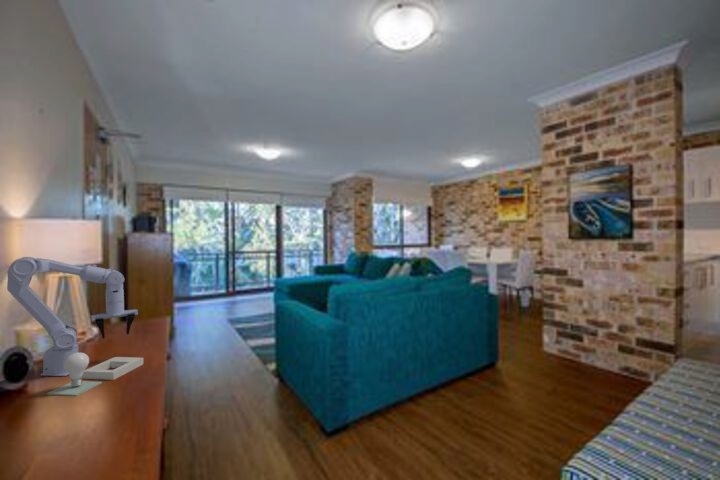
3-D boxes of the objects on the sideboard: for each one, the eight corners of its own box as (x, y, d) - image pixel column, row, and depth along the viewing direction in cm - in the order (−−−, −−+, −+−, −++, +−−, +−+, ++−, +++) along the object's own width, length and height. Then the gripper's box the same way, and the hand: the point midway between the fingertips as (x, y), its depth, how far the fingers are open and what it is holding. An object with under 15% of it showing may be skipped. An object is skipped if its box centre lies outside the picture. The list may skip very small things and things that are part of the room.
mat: (46, 394, 101) (46, 393, 101) (74, 381, 110) (74, 380, 110) (76, 395, 100) (76, 394, 100) (101, 383, 109) (101, 381, 109)
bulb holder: (82, 378, 112) (82, 371, 112) (115, 363, 126) (115, 356, 126) (113, 379, 112) (113, 372, 112) (143, 364, 126) (143, 357, 126)
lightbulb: (71, 392, 102) (72, 357, 102) (58, 389, 104) (58, 355, 104) (93, 383, 108) (94, 350, 108) (80, 381, 110) (81, 348, 110)
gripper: (91, 305, 120) (92, 342, 120) (138, 300, 129) (139, 334, 129) (90, 303, 125) (91, 337, 125) (136, 297, 134) (136, 330, 135)
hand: (115, 335), depth 128 cm, fingers open, 7 cm apart
